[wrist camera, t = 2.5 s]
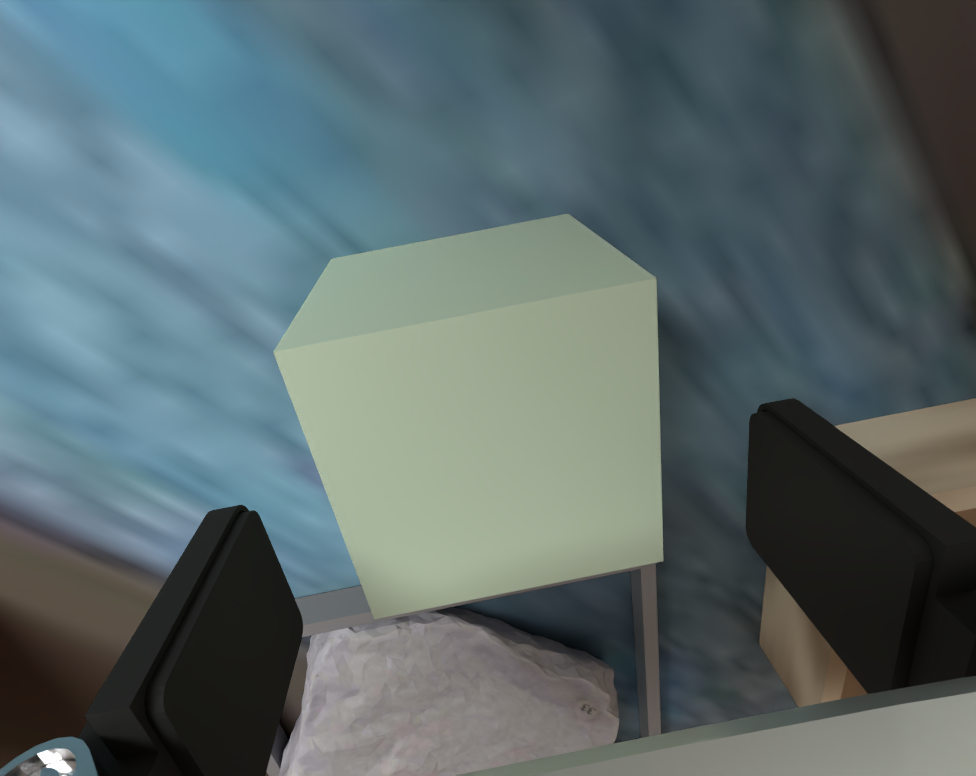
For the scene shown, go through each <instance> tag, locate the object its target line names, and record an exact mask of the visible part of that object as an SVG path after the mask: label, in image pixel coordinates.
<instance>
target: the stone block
mask: <svg viewBox="0 0 976 776" xmlns="http://www.w3.org/2000/svg"><path fill="white" fill-rule="evenodd" d="M307 662H308V669H307V672H306V675H307V676H306V681H305V689H304V694H303V698H302V712H301V715H300V716H299V718H298V719H297V721H296V724H295V727H294V730H293V731H292V733H291V736H290V740H289V742H288V744H287V745H286V747H285V749H284V752H283V757H282V762H281V768H280V773H279V775H278V776H455V775H460V774H465V773H469V772H474V771H479V770H484V769H489V768H494V767H499V766H504V765H509V764H514V763H519V762H524V761H529V760H534V759H539V758H544V757H549V756H554V755H559V754H564V753H569V752H574V751H579V750H584V749H589V748H594V747H599V746H604V745H609V744H614V742H615V740H616V737H617V732H618V727H619V711H618V702H617V691H616V689H615V687H614V682H613V680H614V676H615V672H614V669H612V668H611V667H610V666H609V665H607V664H606V663H605V662H604V661H602V660H600V659H597V658H595V657H594V656H592V655H590V654H589V653H587V652H585V651H580V650H578V649H571V648H568V647H566V646H564V645H563V644H561V643H559V642H557V641H553V640H550V639H547V638H545V637H543V636H536V635H531V634H529V633H527V632H524V631H521V630H519V629H516V628H513V627H512V626H510V625H509V624H506V623H505V622H503V621H501V620H498V619H496V618H490V617H485V616H484V615H482V614H476V613H474V612H472V611H470V610H466V609H460V608H454V607H449V608H444V609H439V610H434V611H429V612H424V613H419V614H414V615H409V616H404V617H399V618H394V619H389V620H384V621H379V622H375V623H370V624H365V625H360V626H355V627H350V628H345V629H340V630H335V631H330V632H325V633H320V634H315V635H312V637H311V640H310V647H309V651H308V653H307Z"/></svg>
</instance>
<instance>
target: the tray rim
mask: <svg viewBox="0 0 976 776" xmlns="http://www.w3.org/2000/svg"><path fill="white" fill-rule="evenodd" d="M627 571H630V575H631V592H632V608H633V624H634V641H635V657H636V673H637V690H638V706H639V723H640V738H644V737H649V736H654V735H659V734H661V714H660V682H659V650H658V618H657V587H656V563H652V564H647V565H642V566H637V567H632V568H627V569H622V570H617V571H612V572H607V573H602V574H597V575H592V576H587V577H582V578H577V579H572V580H568V581H563V582H558V583H553V584H548V585H543V586H538V587H533V588H528V589H523V590H518V591H513V592H508V593H503V594H498V595H493V596H488V597H483V598H478V599H473V600H468V601H463V602H458V603H453V604H448V605H443V606H438V607H434V608H429V609H424V610H419V611H414V612H409V613H404V614H399V615H394V616H389V617H384V618H379V619H374V617H373V615H372V612H371V609H370V607H369V604H368V601H367V599H366V596H365V593H364V591H363V588H362V585H361V586H356V587H351V588H346V589H341V590H336V591H331V592H326V593H321V594H316V595H311V596H306V597H301V598H296V599H295V601H296V603H297V606H298V608H299V610H300V613H301V616H302V620H303V634H302V637H305V636H310V635H315V634H320V633H325V632H330V631H335V630H340V629H345V628H350V627H355V626H360V625H365V624H370V623H375V622H379V621H384V620H389V619H394V618H399V617H404V616H409V615H414V614H419V613H424V612H429V611H434V610H439V609H444V608H449V607H454V606H459V605H464V604H469V603H474V602H479V601H483V600H488V599H493V598H498V597H503V596H508V595H513V594H518V593H523V592H528V591H533V590H538V589H543V588H548V587H553V586H558V585H563V584H568V583H573V582H578V581H583V580H587V579H592V578H597V577H602V576H607V575H612V574H617V573H622V572H627ZM288 742H289V739H288V737H287V736H286V734H285V732H284V730H283V728H282V727H281V725H280V723H279V726H278V729H277V733H276V737H275V741H274V744H273V748H272V752H271V756H270V760H269V763H268V767H267V773H268V775H269V776H278V775H279V773H280V768H281V762H282V757H283V752H284V749H285V747H286V745H287V744H288Z"/></svg>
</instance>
